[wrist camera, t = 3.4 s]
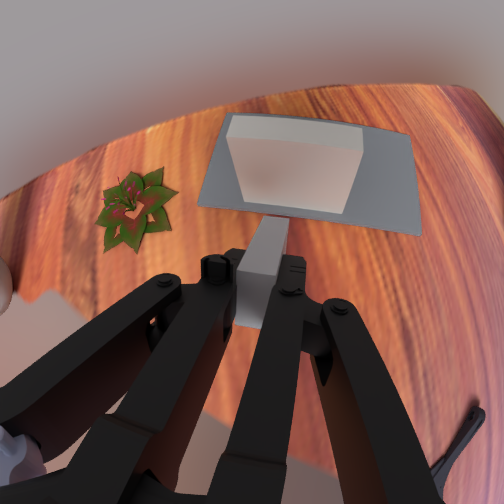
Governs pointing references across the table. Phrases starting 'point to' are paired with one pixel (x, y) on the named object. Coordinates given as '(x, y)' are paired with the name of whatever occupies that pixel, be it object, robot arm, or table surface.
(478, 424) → the bracket
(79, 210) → the table surface
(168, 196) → the lily flower
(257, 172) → the tile
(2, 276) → the grey bottle
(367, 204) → the mat
